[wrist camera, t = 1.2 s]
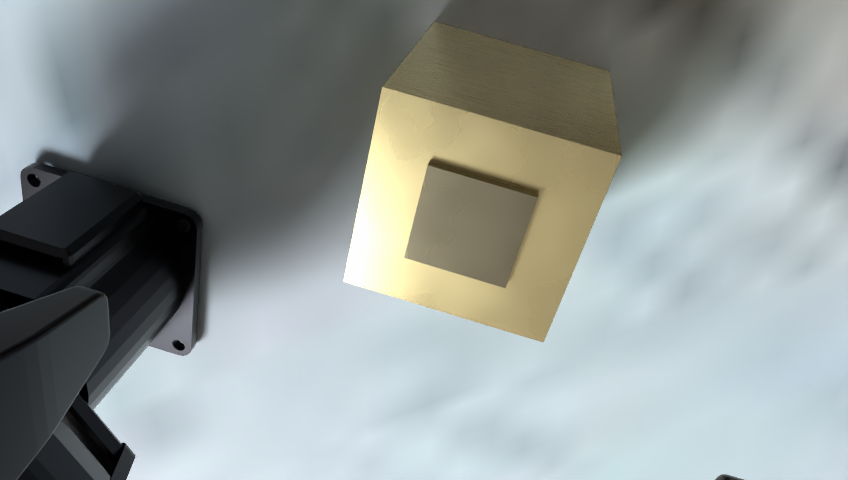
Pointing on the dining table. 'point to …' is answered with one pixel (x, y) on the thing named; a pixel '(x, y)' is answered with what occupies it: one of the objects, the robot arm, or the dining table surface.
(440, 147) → the beige square block
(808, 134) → the dining table surface
